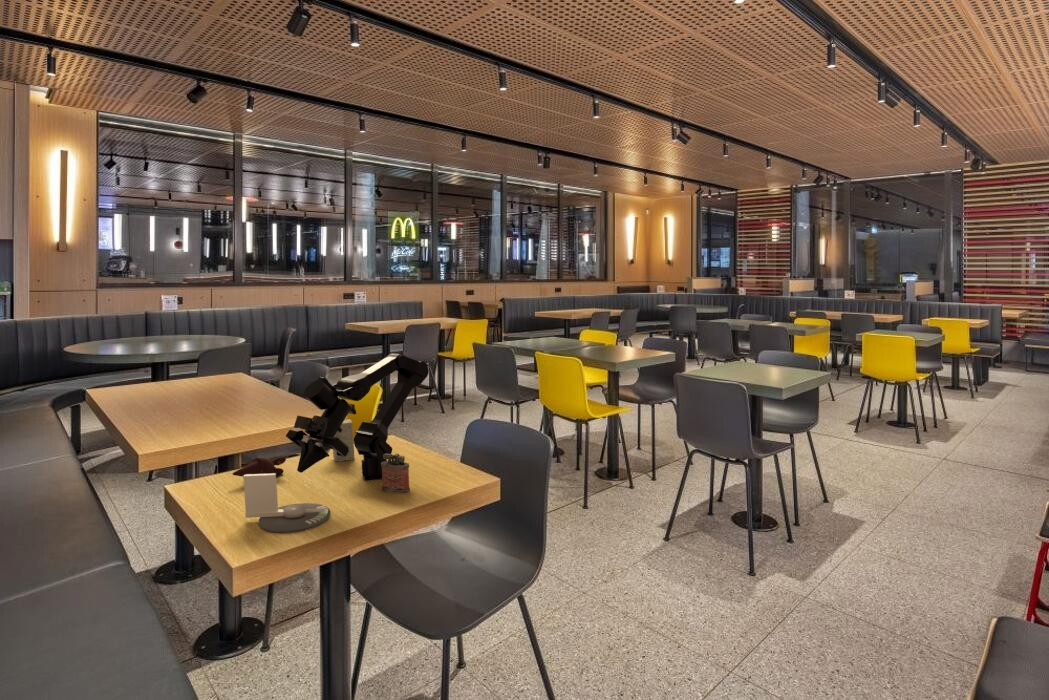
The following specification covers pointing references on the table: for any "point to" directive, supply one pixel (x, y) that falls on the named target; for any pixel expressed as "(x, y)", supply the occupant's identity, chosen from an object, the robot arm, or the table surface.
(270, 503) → the rotary selector knob
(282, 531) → the tuner dial
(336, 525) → the table surface
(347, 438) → the skincare box
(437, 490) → the table surface
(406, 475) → the lighter
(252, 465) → the maroon gnome figurine
